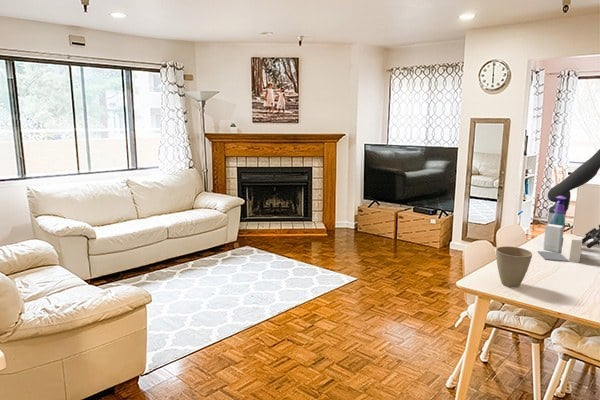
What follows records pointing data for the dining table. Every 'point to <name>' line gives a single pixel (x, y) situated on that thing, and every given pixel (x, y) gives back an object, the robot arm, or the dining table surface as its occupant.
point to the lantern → (559, 212)
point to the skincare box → (553, 237)
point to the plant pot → (512, 264)
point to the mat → (552, 256)
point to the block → (571, 247)
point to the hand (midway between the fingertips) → (584, 244)
